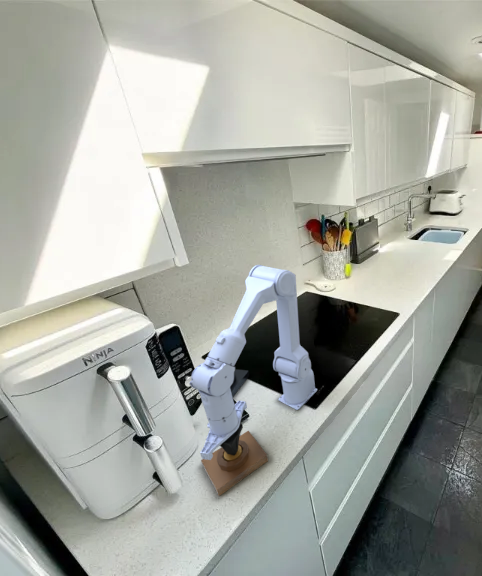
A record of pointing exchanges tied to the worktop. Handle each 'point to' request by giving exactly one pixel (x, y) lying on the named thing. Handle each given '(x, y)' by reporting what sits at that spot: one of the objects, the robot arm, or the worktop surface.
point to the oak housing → (234, 464)
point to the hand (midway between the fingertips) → (232, 452)
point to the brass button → (233, 457)
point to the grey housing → (238, 380)
